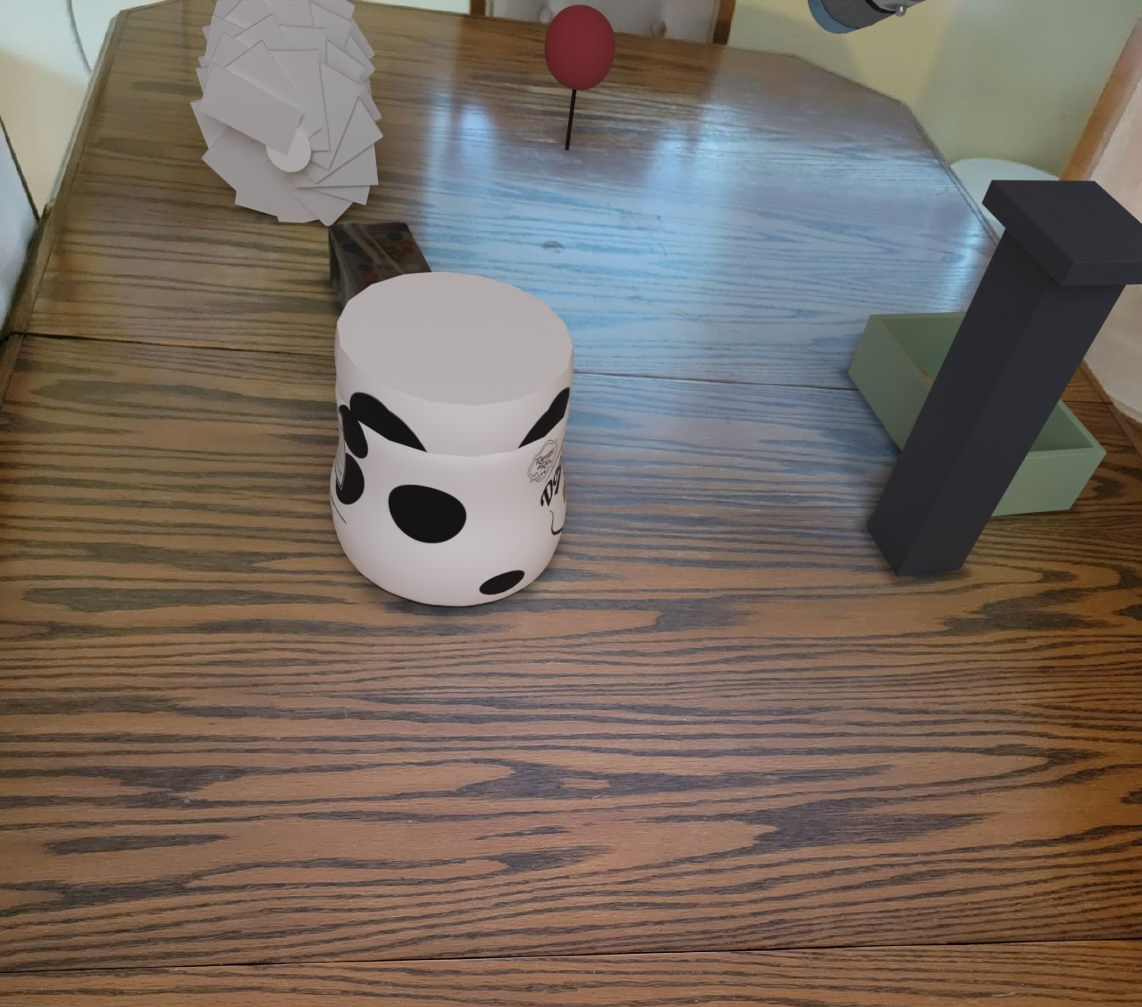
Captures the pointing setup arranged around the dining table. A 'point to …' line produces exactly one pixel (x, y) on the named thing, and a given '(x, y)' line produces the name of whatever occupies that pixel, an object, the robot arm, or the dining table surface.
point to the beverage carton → (370, 255)
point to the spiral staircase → (289, 106)
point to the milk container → (450, 436)
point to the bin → (901, 389)
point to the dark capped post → (1006, 365)
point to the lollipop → (579, 51)
